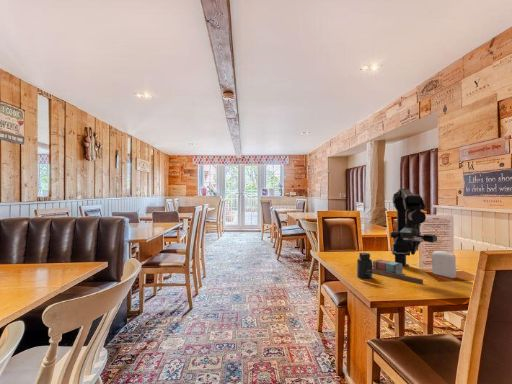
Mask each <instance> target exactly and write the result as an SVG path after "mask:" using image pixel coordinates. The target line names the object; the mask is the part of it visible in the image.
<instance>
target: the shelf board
mask: <svg viewBox="0 0 512 384" xmlns="http://www.w3.org/2000/svg"><path fill="white" fill-rule="evenodd" d="M382 260H383V259H380V258H379V259H376V260H372V263H373V267H372V274H376V275H380V276H385V277H389V278H392V279H393V278H394V279H398V280H403V281H405V282H410V283H411V282H412V283H415V284H419V285H423V284H424V279H422V278H418V277H414V276H409V275H401V274H396V273H391V272H387V271H382V270H378V269H377V262H378V261H382Z"/></svg>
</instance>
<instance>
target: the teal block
mask: <svg viewBox="0 0 512 384" xmlns="http://www.w3.org/2000/svg"><path fill="white" fill-rule="evenodd" d="M395 264H398V263H397V262H395V261H391V262H389V263H386V271H387V272H391V273H393V265H395Z"/></svg>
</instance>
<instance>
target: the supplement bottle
mask: <svg viewBox="0 0 512 384" xmlns="http://www.w3.org/2000/svg"><path fill="white" fill-rule="evenodd" d="M356 263H357V264H356V276H357V278H358V279H363V280H369V279H371V280H372V279H373V273H372V268H373V267H372V263H373V260H372V259H371V253H369V252H360V253H359V258H358V259H357V260H356Z"/></svg>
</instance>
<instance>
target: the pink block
mask: <svg viewBox="0 0 512 384" xmlns="http://www.w3.org/2000/svg"><path fill="white" fill-rule="evenodd" d="M389 262H392V261H390V260H385V259H382V261H378V262H377V269H378V270H382V271H386V263H389Z"/></svg>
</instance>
